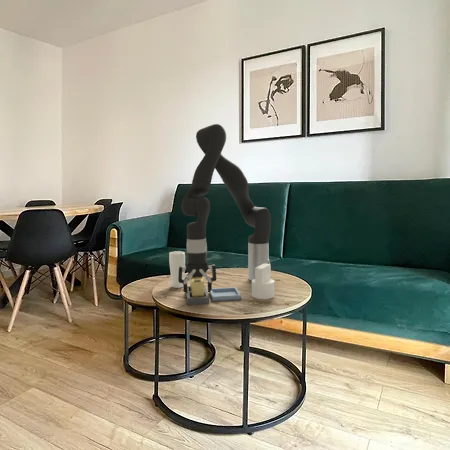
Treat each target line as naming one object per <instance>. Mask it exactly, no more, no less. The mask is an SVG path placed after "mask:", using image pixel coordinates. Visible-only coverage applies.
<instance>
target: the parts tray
mask: <svg viewBox="0 0 450 450" xmlns="http://www.w3.org/2000/svg"><path fill="white" fill-rule="evenodd" d="M209 296H210V297H211V301H212V302H223V301H224V302H225V301H228V302H229V301H241V300H242V294H241V293H240V291H239V289H238V288H237V287H236V286H233V287H215V288H212V290H211V291H210V292H209Z"/></svg>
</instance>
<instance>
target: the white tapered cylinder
mask: <svg viewBox="0 0 450 450" xmlns="http://www.w3.org/2000/svg"><path fill="white" fill-rule="evenodd" d="M168 253H169V254H168V255H169V257H168V259H169V263H168V264H169V270H170V278H171V281H170V282H171V287H172V288H174V289H181V288H183V283H179V281H178V275H179V266H182V267H186V254H185V253H186V252H185V251H181V250H177V251H176V250H175V251H170V252H168ZM185 272H186V270H184V272H182V279H185Z"/></svg>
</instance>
